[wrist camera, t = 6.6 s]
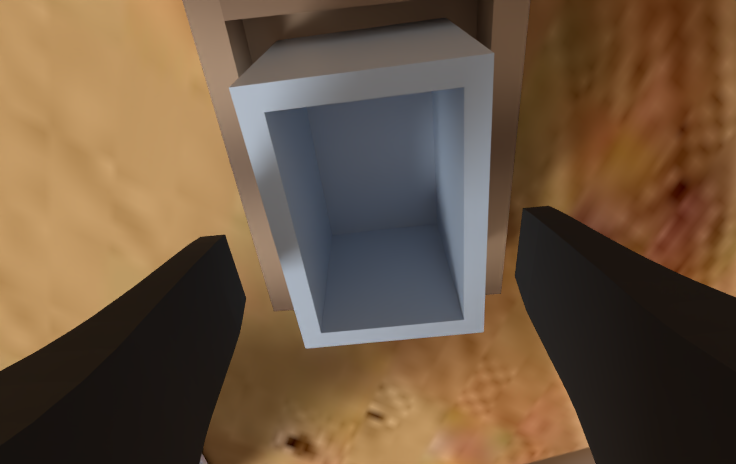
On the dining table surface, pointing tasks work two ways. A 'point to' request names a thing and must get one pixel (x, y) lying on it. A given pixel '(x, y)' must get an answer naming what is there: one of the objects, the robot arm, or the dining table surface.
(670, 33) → the dining table surface
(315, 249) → the small crate
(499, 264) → the shallow brown tray
